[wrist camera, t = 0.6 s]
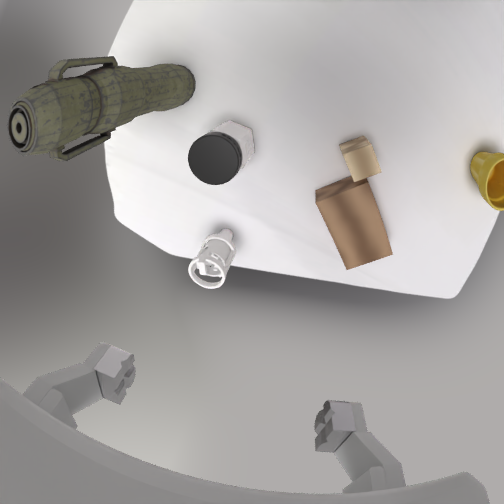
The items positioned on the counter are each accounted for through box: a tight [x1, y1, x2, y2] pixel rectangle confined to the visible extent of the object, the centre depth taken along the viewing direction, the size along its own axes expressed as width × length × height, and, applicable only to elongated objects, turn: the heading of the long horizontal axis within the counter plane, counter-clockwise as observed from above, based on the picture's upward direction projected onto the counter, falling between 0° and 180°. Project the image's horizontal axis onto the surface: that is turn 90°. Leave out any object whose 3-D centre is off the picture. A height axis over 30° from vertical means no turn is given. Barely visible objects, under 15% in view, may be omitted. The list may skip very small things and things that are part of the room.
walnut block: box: [316, 176, 393, 270], centre depth 51 cm, size 10×16×6 cm, turn 31°
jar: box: [188, 120, 255, 185], centre depth 45 cm, size 9×8×12 cm
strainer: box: [188, 229, 236, 289], centre depth 56 cm, size 7×7×15 cm
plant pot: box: [470, 152, 504, 211], centre depth 35 cm, size 10×10×10 cm
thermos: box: [7, 56, 195, 161], centre depth 30 cm, size 9×12×35 cm
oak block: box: [339, 136, 381, 182], centre depth 43 cm, size 5×5×7 cm
